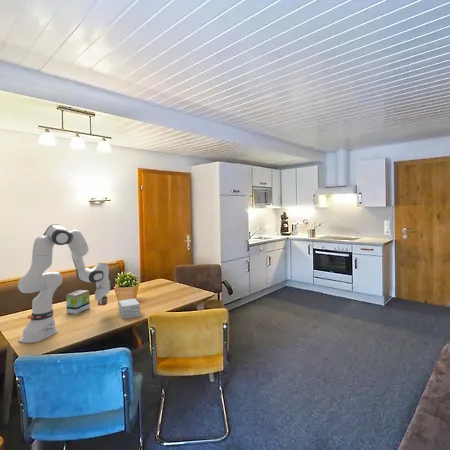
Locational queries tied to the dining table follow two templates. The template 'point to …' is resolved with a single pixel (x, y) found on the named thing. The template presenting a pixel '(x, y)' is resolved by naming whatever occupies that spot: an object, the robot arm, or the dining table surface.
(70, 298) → the tea box
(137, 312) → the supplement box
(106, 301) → the walnut block
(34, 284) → the robot arm
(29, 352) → the dining table surface
